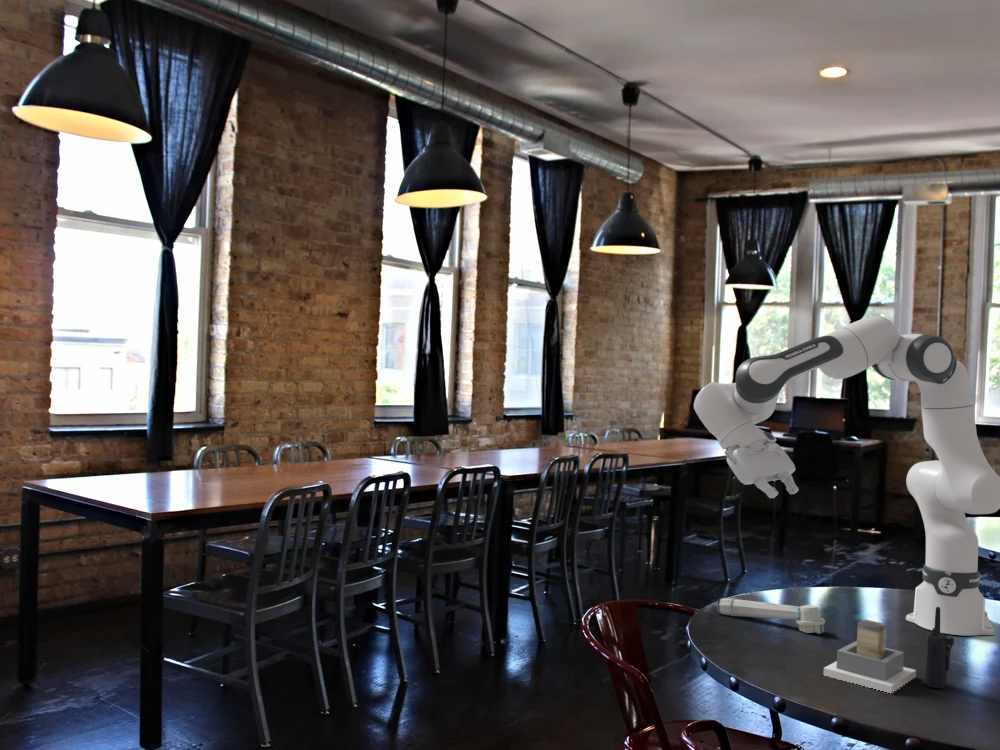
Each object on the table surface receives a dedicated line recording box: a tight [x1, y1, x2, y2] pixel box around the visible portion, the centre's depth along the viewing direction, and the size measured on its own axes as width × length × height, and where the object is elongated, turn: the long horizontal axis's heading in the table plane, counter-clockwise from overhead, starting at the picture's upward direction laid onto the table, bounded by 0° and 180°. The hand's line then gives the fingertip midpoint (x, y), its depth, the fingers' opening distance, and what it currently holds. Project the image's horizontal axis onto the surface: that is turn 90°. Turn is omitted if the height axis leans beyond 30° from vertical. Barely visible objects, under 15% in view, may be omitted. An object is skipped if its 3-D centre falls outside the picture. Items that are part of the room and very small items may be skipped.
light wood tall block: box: [856, 619, 887, 660], centre depth 174 cm, size 4×4×9 cm
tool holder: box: [823, 640, 917, 695], centre depth 174 cm, size 13×13×5 cm
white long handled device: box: [716, 597, 826, 635], centre depth 209 cm, size 5×7×25 cm
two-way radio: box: [925, 607, 955, 690], centre depth 170 cm, size 6×4×15 cm
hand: (785, 494), depth 190 cm, fingers open, 8 cm apart
